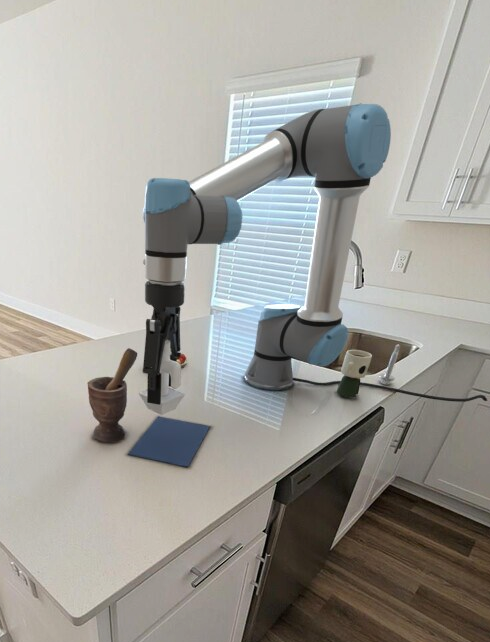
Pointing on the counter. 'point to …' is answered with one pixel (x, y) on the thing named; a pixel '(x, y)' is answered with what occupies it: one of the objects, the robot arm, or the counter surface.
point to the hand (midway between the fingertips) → (162, 394)
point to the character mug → (353, 372)
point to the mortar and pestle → (110, 400)
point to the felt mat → (170, 441)
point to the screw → (390, 368)
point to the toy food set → (182, 360)
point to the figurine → (167, 384)
